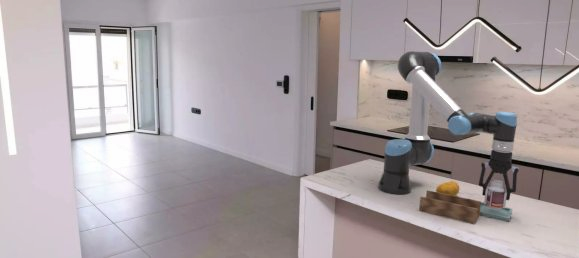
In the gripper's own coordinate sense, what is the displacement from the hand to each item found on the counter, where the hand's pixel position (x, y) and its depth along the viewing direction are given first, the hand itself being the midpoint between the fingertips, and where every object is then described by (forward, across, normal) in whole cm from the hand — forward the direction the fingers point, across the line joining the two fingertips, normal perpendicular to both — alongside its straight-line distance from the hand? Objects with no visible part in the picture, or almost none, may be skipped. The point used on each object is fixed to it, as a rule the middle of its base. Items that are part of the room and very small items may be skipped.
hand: (494, 205), depth 165 cm
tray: (+4, 0, 0) cm, 4 cm away
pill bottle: (+1, 0, 0) cm, 1 cm away
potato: (+4, -20, +7) cm, 22 cm away
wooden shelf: (+3, -15, -12) cm, 20 cm away
